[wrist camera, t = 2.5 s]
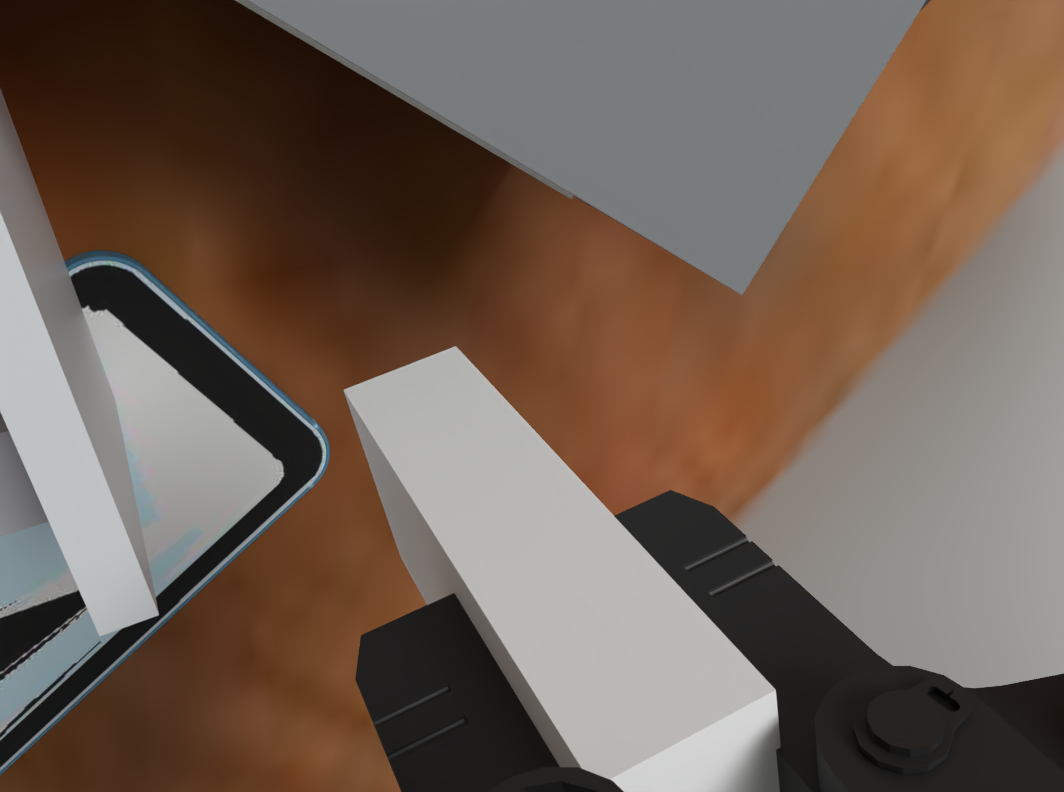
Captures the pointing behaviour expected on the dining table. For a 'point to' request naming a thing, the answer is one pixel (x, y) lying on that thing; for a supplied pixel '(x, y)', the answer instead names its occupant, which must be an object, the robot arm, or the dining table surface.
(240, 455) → the smartphone
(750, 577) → the robot arm
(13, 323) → the door
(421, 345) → the dining table surface
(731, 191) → the camera body
